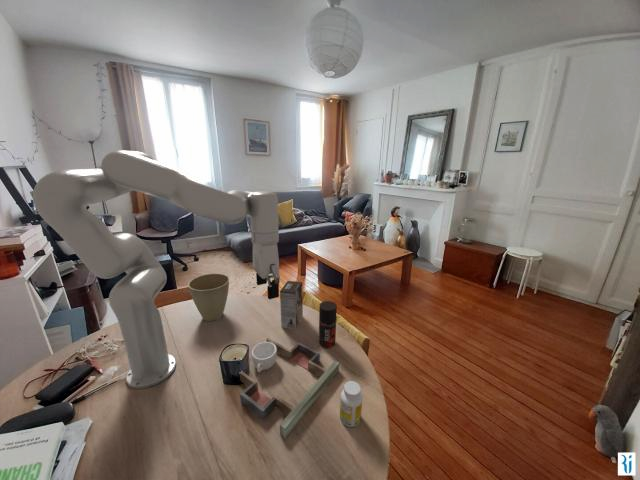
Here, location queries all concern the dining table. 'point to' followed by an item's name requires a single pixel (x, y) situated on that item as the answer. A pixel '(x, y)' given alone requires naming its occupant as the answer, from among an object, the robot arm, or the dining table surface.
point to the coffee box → (291, 304)
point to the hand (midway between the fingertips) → (267, 290)
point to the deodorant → (327, 324)
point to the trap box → (265, 405)
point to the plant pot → (210, 295)
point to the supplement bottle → (351, 404)
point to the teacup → (264, 355)
